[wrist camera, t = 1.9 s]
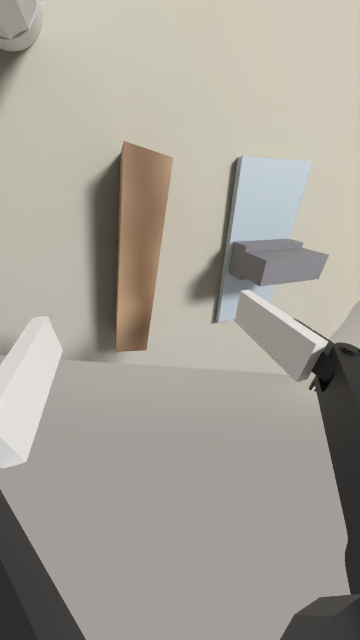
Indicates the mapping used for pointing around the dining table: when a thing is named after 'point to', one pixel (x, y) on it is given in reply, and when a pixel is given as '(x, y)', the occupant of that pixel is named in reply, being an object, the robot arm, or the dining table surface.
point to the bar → (139, 241)
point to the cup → (19, 23)
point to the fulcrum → (265, 232)
